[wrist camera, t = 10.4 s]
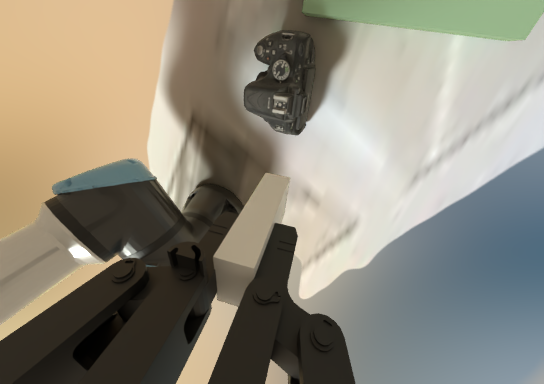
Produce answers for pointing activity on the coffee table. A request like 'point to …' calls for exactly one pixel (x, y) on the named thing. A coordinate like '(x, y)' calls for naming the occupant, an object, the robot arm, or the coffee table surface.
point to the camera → (283, 81)
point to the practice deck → (438, 15)
